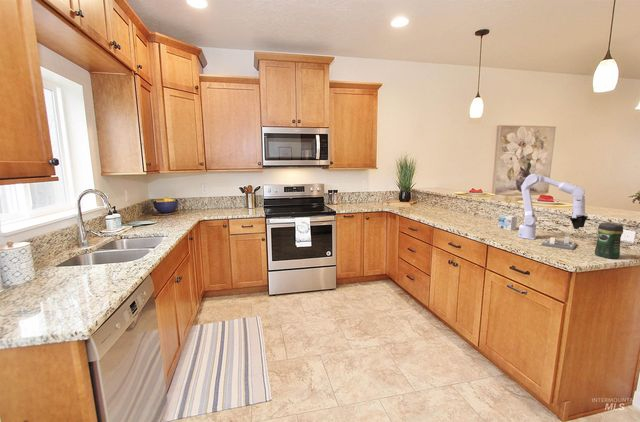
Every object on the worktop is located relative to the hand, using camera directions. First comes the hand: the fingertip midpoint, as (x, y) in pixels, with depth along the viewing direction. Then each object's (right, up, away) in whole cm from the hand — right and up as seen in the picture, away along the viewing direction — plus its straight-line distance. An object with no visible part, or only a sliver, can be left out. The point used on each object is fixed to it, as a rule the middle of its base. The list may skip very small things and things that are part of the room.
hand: (578, 228), depth 185 cm
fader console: (-13, -11, 0) cm, 17 cm away
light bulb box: (-15, -4, +48) cm, 51 cm away
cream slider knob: (-8, -9, 0) cm, 12 cm away
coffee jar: (-6, -15, -24) cm, 29 cm away
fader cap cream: (-18, -10, -1) cm, 20 cm away
